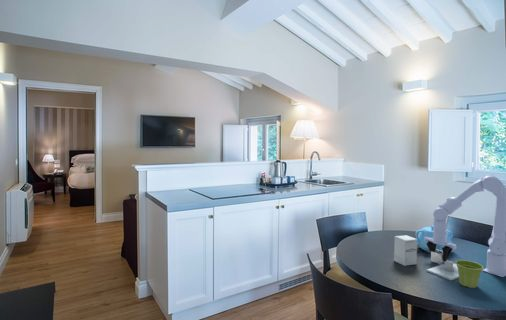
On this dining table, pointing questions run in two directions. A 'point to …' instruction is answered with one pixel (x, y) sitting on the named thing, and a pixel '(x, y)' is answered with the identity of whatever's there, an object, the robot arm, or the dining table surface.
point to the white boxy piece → (437, 256)
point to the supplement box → (405, 250)
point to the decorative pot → (429, 233)
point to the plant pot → (469, 273)
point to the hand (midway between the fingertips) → (439, 259)
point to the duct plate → (446, 270)
